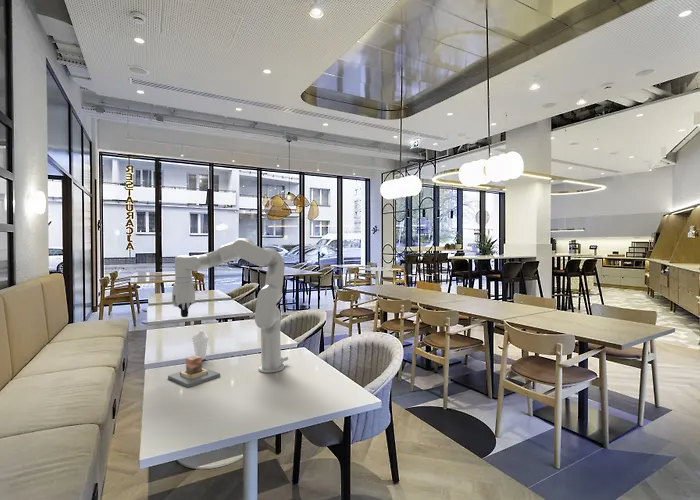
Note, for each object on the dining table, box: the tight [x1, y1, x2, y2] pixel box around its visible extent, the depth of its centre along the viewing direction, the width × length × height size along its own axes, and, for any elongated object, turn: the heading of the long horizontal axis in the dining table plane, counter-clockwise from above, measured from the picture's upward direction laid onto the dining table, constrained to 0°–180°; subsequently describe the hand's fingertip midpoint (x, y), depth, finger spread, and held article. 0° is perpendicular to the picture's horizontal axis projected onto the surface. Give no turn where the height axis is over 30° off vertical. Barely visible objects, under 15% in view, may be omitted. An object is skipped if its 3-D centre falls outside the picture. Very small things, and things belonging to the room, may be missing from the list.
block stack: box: [185, 354, 203, 375], centre depth 179 cm, size 5×5×8 cm
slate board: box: [167, 366, 221, 388], centre depth 179 cm, size 16×18×3 cm
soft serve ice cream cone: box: [191, 329, 209, 361], centre depth 206 cm, size 8×8×16 cm
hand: (184, 316), depth 191 cm, fingers closed
